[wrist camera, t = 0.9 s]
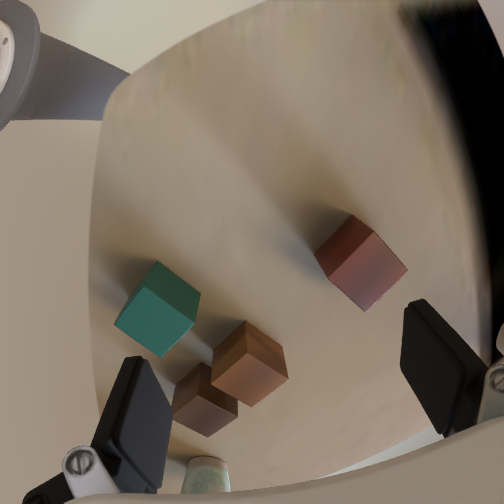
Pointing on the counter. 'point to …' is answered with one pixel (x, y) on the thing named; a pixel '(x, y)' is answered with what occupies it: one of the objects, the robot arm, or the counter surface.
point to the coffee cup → (206, 476)
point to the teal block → (159, 310)
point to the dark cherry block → (359, 263)
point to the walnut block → (202, 403)
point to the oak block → (248, 365)
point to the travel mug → (500, 340)
